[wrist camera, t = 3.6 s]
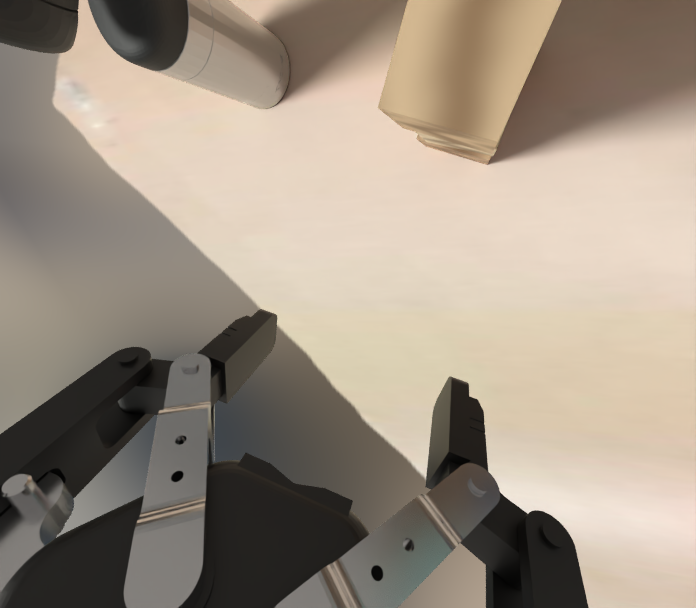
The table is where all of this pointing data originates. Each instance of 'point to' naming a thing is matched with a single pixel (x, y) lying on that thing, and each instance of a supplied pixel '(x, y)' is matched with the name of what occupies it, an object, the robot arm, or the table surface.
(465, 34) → the block
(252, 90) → the robot arm
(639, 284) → the table surface
